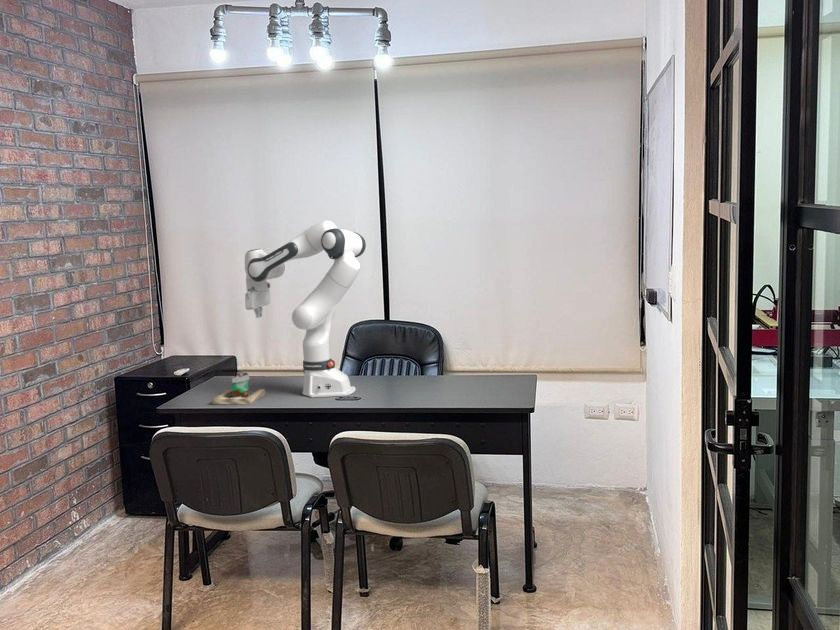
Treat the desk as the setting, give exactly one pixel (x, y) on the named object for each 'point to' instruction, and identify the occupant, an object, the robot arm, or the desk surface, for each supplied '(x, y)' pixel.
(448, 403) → the desk surface
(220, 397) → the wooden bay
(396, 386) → the desk surface
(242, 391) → the food container
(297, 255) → the robot arm
